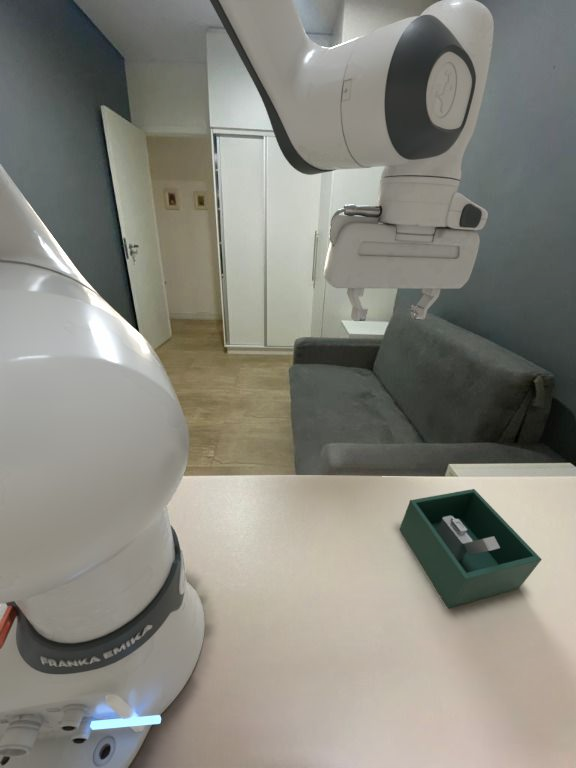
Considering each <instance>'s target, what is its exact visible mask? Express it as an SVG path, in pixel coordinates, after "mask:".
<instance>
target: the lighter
mask: <svg viewBox="0 0 576 768" xmlns="http://www.w3.org/2000/svg"><path fill="white" fill-rule="evenodd" d="M466 531H467V528H466V527H465V526H464V525H463V524H462V522H461V521H460V520H459V519H455V518H454V517H453V516H446V517H443V518H442V520H441V522H440V525H439V527H438V529H437V533H438V534H439V536H440V537H441V538H442V540H443V541H444V543H445V544H446V545H447V547H448V548H449V550H450V551H451V552H452V554H453V555H454V556H455V558H456V559H457V561H461V560H462V559H463V557H464V555H465V554H466V552H468V554H469V555H470V554H475V553H481V552H486V551H491V550H494V549H498V548H500V547H499V545H498V543H497V541H496V539H495V537H494V536H493V537H489V538H484V539H480V540H476V541H472V539H471V538H470V537H469V535H468V534H467V533H466Z"/></svg>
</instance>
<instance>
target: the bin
mask: <svg viewBox="0 0 576 768" xmlns="http://www.w3.org/2000/svg"><path fill="white" fill-rule="evenodd" d="M405 510H406V511H405V512H404V516H403V518H402V521H401V524H400V526H399V530H400V532H401V533H402V535H403V537H404V538H405V540H406V542H407V543H408V545H409V547H410V548H411V550H412V552H413V553H414V555H415V556H416V558H417V559H418V561H419V563H420V565H421V566H422V568H423V570H424V571H425V572H426V574H427V576H428V578H429V580H430V581H431V583H432V584H433V586H434V587H435V589H436V591H437V592H438V594H439V596H440V597H441V599H442V600H443V602H444V604H445V605H446V607H447V608H448V609H450V608H453V607H458V606H461V605H464V604H467V603H472V602H475V601H478V600H482V599H486V598H489V597H492V596H496V595H500V594H504V593H507V592H510V591H514V590H518V589H520V588H521V587H522V586H523V584H524V583H525V582H526V581H527V579H528V578H529V577H530V576H531V574H532V573H533V571H534V570H535V569H536V568H537V566H538V565H539V564H540V563H541V561H542V560H543V559H542V558H541V557H540V556H539V554H537V553H536V552H535V550H533V548H532V547H530V545H529V544H528V543H527V542H526V541H525V540H524V539H523V538H522V537H521V536H520V535H519V534H518V533H517V532H516V531H515V530H514V529H513V528H512V526H510V524H509V523H508V522H506V521H505V519H504V518H503V517H502V516H501V515H500V514H499V513H498V512H497V511H496V510H495V509H494V508H493V507H492V506H491V505H490V504H489V503H488V502H487V501H486V500H485V498H484V497H483V496H482V495H480V494H479V492H478V491H477V490H476V489H475V488H471V489H466V490H465V489H464V490H460V491H454V492H448V493H443V494H437V495H431V496H427V497H421V498H416V499H410V500H409V503H408V505H407V507H406V509H405ZM446 516H453V517H454V518H455V519H459V520H460V521H461V522H462V524H463V525H464V526H465V527H466V528H467V531H466V533H467V534H468V535H469V537H470V538H471V539H472V541H476V540H480V539H484V538H489V537H493V536H494V537H495V539H496V541H497V543H498V545H499V547H500V548H498V549H494V550H491V551H486V552H481V553H475V554H470V555H469V554H468V552H466V554H465V555H464V557H463V559H462V560H461V561H457V559H456V558H455V556H454V555H453V554H452V552H451V551H450V550H449V548H448V547H447V545H446V544H445V543H444V541H443V540H442V538H441V537H440V536H439V534H438V533H437V529H438V527H439V525H440V522H441V520H442V518H443V517H446Z"/></svg>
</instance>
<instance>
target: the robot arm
mask: <svg viewBox="0 0 576 768" xmlns="http://www.w3.org/2000/svg"><path fill="white" fill-rule="evenodd" d="M209 2H210V4H211V5H212V7H213V9H214V11H215V13H216V15H217V17H218V18H219V21H220V22H221V24H222V27H224V28H223V29H224V30H225V31H226V34H227V35H228V37H229V39H230V41H231V43H232V44H233V47H234V49H235V50H236V52H237V54H238V57H239V58H240V60H241V62H242V63H243V65H244V67H245V69H246V71H247V74H249V77H250V79H251V80H252V83H253V84H254V86H255V88H256V90H257V92H258V95H259V97H260V99H261V101H262V104H263V105H264V108H265V111H266V113H267V116H268V119H269V123H270V125H271V129H272V131H273V134H274V137H275V140H276V142H277V145H278V147H279V149H280V151H281V153H282V155H283V157H284V159H285V160H286V161H287V162H288V164H289V165H290V166H291V167H292V168H293V169H294V170H296V171H297V172H299V173H301V174H304V175H308V176H313V175H318V174H323V173H329V172H334V171H338V170H355V169H356V170H357V169H370V168H377V167H383V169H382V172H381V175H380V180H379V181H380V182H379V186H378V192H377V197H376V203H375V206H374V205H356V204H345V205H343V207H342V208H340V209H338V210H336V211H335V212H334V213H333V215H332V216H331V219H330V222H329V223H330V224H329V231H328V237H329V245H328V250H327V253H326V257H325V262H324V268H323V277H324V278H323V279H325V281H326V283H327V284H328V285H329V286H331V287H333V288H335V289H347V290H346V294H347V297H348V299H349V302H350V304H351V315H350V317H351V320H353V321H354V322H365V321H366V320H367V314H368V310H369V309H368V308H367V307H365V306H364V305H362V303H361V300H360V297H361V298H362V297H363V296H364V292H365V289H399V290H400V289H401V290H402V289H404V290H405V289H408V290H409V289H411V290H414V289H415V290H416V289H417V290H418V289H419V290H421V294H423V295H422V296H421V298H420V299H419V301H418V302H417V303H416V304H412V305H411V307H410V312H409V318H410V319H413V320H414V321H418V320H419V321H424V320H425V319H426V317H427V314H428V313H427V312H428V310H429V309H430V307H431V306H432V305H433V304H434V303H435V302H436V300H437V299H438V298H439V297H440V293H441V290H444V289H445V290H460V289H461V288H463V287H464V286H465V285H466V284H467V283H468V281H469V280H470V278H471V275H472V272H473V269H474V266H475V264H476V260H477V257H478V252H479V248H480V241H481V239H480V235H479V233H478V232H477V231H480V230H482V229H484V227H485V225H486V223H487V219H488V217H489V213H488V211H487V209H485V208H484V207H482V206H480V205H478V204H476V203H475V202H473V201H472V200H471V199H469V198H467V197H466V196H465V195H463V194H462V193H460V192H458V191H459V187H460V183H461V179H462V164H463V158H464V154H465V151H466V148H467V146H468V144H469V142H470V140H472V139H471V138H472V137H473V134H474V132H475V129H476V125H477V122H478V118H479V114H480V109H481V106H482V102H483V98H484V93H485V90H486V85H487V79H488V73H489V68H490V63H491V58H492V57H491V56H492V49H493V41H494V30H495V29H494V27H495V24H494V17H493V15H492V13H491V11H490V10H489V8H488V7H487V6H486V5H485V4H483V3H482V2H480V1H478V0H438V1H435V2H434V3H433V4H431V5H430V6H428V7H426V9H425V10H423V11H422V12H421V14H420V15H415V16H409V17H406V18H403V19H400V20H398V21H397V20H396V21H395V22H392V23H390V24H386V25H384V26H381V27H378V28H376V29H373V30H371V31H368V32H367V33H366V34H364V35H361V36H358V37H355V38H353V39H350V40H348V41H346V42H343V43H340V44H338V45H334V46H332V47H326V46H322V45H319V44H317V43H316V42H314V41H313V40H311V38H310V37H309V36H308V35H307V33H306V31H305V28H304V24H303V23H302V22H303V21H302V20H301V17H300V14H299V11H298V8H297V5H296V3H295V0H209ZM342 213H343V215H342ZM183 411H184V410H183V409H182V405H181V403H180V400H179V398H178V395H177V394H176V390H175V389H174V386H173V384H172V382H171V379H170V377H169V375H168V373H167V370H166V368H165V367H164V365H163V363H162V361H161V359H160V357H159V355H158V354H157V353H156V350H155V349H154V348H153V346H152V345H151V344H150V342H148V340H147V339H146V338H145V337H144V336H143V335H142V334H141V333H140V332H139V331H138V330H137V329H136V328H135V327H134V326H132V325H131V324H130V323H129V321H127V320H126V319H125V318H124V317H123V316H122V315H121V314H120V313H118V311H117V310H115V309H114V308H113V307H112V306H111V305H110V304H109V303H108V302H107V301H106V300H105V299H104V298H103V297H102V296H101V295H100V294H99V293H98V292H97V290H96V289H94V287H93V286H92V285H91V284H90V283H89V282H88V280H87V279H85V277H84V276H83V275H82V274H81V272H80V271H79V270H78V268H77V267H76V266H75V265H74V263H73V262H72V260H71V259H70V257H69V256H68V255H67V253H66V252H65V251H64V250H63V248H62V246H60V244H59V243H58V241H57V240H56V239H55V238H54V236H53V235H52V233H51V232H50V231H49V229H48V227H47V226H46V225H45V224H44V222H43V221H42V219H41V218H40V216H39V215H38V214H37V213H36V211H35V210H34V208H33V207H32V205H31V204H30V203H29V201H28V200H27V198H25V196H24V195H23V193H22V191H20V189H19V188H18V186H17V184H16V183H15V182H14V180H13V179H12V178H11V176H10V175H9V173H7V171H6V170H5V168H4V167H3V165H2V164H1V163H0V768H129V767H130V765H132V763H133V761H134V759H135V758H136V756H137V754H138V753H139V751H140V749H141V747H142V746H143V744H144V741H145V739H146V737H147V735H148V734H149V732H150V729H151V728H152V727H153V725H159V724H161V721H162V717H161V715H162V714H163V713H164V712H165V711H166V710H167V709H168V707H169V706H170V705H171V704H172V703H173V702H174V701H175V699H176V698H177V697H178V696H179V695H180V693H181V692H182V690H183V689H184V687H185V686H186V685H187V682H188V681H189V679H190V678H191V676H192V674H193V672H194V670H195V667H196V666H197V663H198V660H199V658H200V655H201V652H202V648H203V644H204V638H205V629H206V621H205V620H206V618H205V611H204V607H203V603H202V600H201V598H200V596H199V594H198V592H197V591H196V589H195V588H194V587H193V585H191V584H190V582H189V581H187V569H186V564H185V563H186V562H185V558H184V553H183V550H182V549H181V544H180V541H179V537H178V534H177V532H176V530H175V529H174V527H173V525H172V524H171V520H170V515H169V511H168V510H169V509H168V505H169V503H170V502H171V501H172V499H173V497H174V495H175V494H176V492H177V490H178V488H179V486H180V485H181V482H182V480H183V478H184V475H185V472H186V469H187V466H188V461H189V456H190V445H191V444H190V443H191V441H190V431H189V427H188V423H187V419H186V417H185V414H184V412H183ZM107 747H110V750H109V753H108V755H107V756H106V757H105V758H102V755H103V752H104V751H105V749H106V748H107Z"/></svg>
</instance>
